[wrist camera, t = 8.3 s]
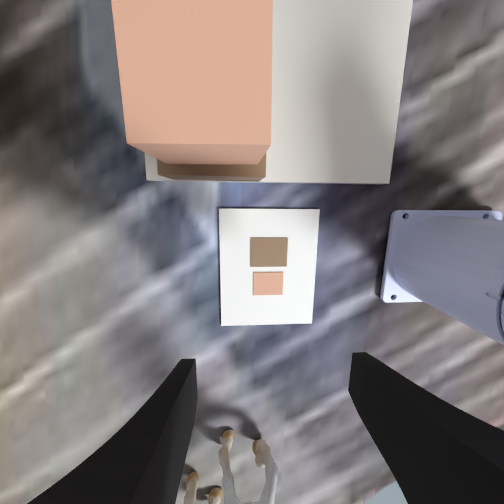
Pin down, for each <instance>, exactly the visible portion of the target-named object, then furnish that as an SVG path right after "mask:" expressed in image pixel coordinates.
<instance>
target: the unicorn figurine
mask: <svg viewBox="0 0 504 504" xmlns="http://www.w3.org/2000/svg"><path fill="white" fill-rule="evenodd" d="M234 437H235V433H234V431H233V430H231V429H229V430H226V431H225V432H224V433H223V434H222V445H223V447H221V448H220V450H219V458H220V465H221V467H222V469H223V478H222V484H223V488H224V491H225V494H224V504H274V498H275V490H276V485H277V479H278V468H277V466H276V464H275V462H274V460H273V458H272V456H271V451H270V448H269V446H268V445H267V444H266V441H265V440H263V439H259V440H255V441H254V442H253V452H254V454H255V455H256V457H255V461H256V464H257V466H258V467H260V468H264V467H265V471H266V483H265V486H264V489H263V492H262V494H261V497H260V500H259V502H252V501H245V502H240V501H239V500H238V499H237V496H236V493H235V488H234V479H233V475H232V473H231V470H230V464H229V460H230V448H231V446H232V443H233V440H234ZM198 485H199V482H198V474H197V472H192V473H190V474H189V476H188V478H187V487H186V492H187V493H186V495H185V497H184V504H195V502H196V491H197V488H198ZM222 492H223V491H222V489H221V488H218V487H216V488H213V489H212V490H211V491H210V493H209V497H208V501H209V504H219V503H220V501H221V496H222Z"/></svg>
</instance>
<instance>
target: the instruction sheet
mask: <svg viewBox="0 0 504 504" xmlns="http://www.w3.org/2000/svg"><path fill="white" fill-rule="evenodd" d="M319 213H320V209H219V236H220V285H221V326H234V325H270V324H305V323H312V313H313V299H314V284H315V270H316V256H317V242H318V227H319Z"/></svg>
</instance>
